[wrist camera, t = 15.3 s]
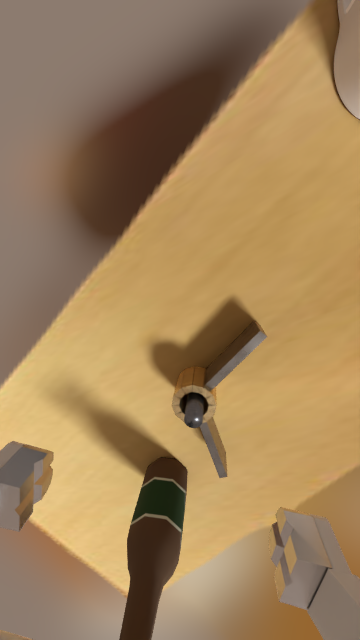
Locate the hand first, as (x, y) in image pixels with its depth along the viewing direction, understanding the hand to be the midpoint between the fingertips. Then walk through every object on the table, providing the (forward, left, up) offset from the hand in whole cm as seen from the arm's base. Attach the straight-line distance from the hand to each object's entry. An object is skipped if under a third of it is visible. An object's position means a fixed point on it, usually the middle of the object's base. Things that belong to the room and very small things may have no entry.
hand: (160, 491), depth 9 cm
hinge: (+7, +13, -31) cm, 34 cm away
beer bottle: (+27, +16, -31) cm, 44 cm away
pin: (+10, +8, -31) cm, 34 cm away
